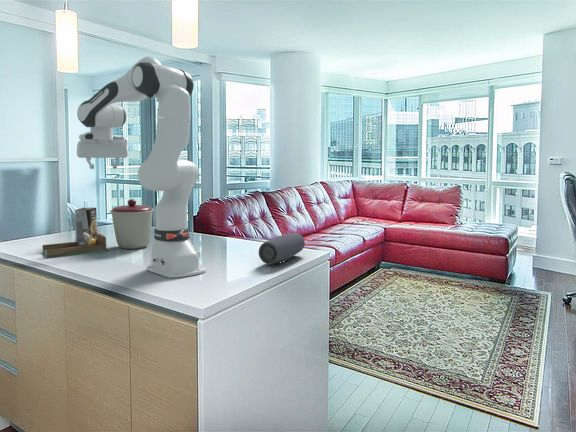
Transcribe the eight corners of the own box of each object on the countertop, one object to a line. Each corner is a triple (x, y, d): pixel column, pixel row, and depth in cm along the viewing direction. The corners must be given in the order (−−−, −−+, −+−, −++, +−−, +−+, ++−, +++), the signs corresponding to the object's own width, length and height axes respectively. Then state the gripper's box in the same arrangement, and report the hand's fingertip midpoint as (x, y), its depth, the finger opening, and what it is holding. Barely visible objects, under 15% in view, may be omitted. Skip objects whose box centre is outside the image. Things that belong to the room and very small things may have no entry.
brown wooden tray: (106, 251, 186) (105, 235, 185) (47, 257, 173) (46, 240, 172) (99, 246, 195) (98, 230, 194) (42, 252, 182) (41, 236, 181)
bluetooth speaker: (285, 253, 184) (285, 230, 182) (305, 256, 180) (306, 232, 178) (256, 265, 164) (256, 239, 162) (278, 269, 160) (279, 242, 158)
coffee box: (91, 245, 195) (89, 209, 193) (76, 245, 195) (74, 209, 193) (98, 241, 204) (96, 207, 202) (84, 241, 204) (82, 207, 202)
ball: (90, 237, 185) (85, 245, 184) (99, 241, 187) (94, 249, 186) (88, 235, 188) (83, 244, 187) (96, 239, 190) (92, 248, 190)
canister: (129, 253, 182) (127, 202, 179) (102, 247, 192) (100, 199, 189) (163, 245, 197) (162, 198, 194) (137, 241, 207) (135, 196, 204)
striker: (85, 249, 182) (83, 222, 181) (79, 250, 181) (77, 223, 179) (80, 245, 189) (79, 220, 187) (74, 246, 187) (73, 220, 186)
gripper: (124, 136, 197) (126, 168, 199) (74, 135, 185) (76, 168, 187) (129, 136, 192) (130, 168, 194) (78, 135, 180) (79, 169, 182)
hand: (103, 168), depth 190 cm, fingers open, 8 cm apart
